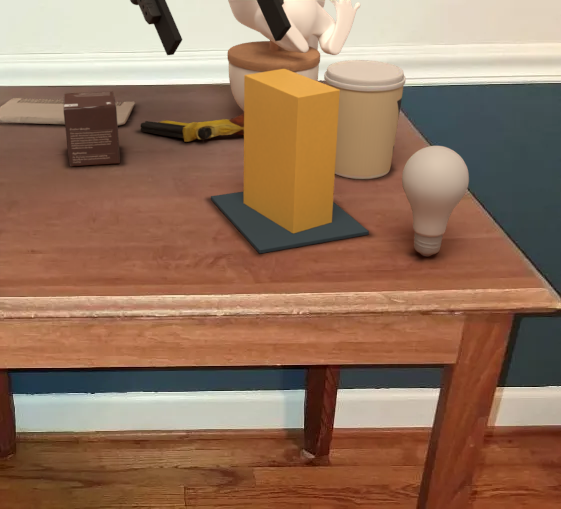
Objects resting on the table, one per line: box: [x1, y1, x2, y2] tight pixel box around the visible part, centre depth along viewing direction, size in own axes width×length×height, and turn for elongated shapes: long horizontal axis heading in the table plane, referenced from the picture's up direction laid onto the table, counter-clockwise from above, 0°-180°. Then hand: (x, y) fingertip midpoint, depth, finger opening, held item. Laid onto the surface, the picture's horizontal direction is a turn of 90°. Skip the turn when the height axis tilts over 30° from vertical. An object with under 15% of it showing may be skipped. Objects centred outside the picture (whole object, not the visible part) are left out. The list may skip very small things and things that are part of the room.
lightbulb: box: [401, 145, 470, 257], centre depth 79 cm, size 6×6×11 cm
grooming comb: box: [0, 97, 136, 126], centre depth 117 cm, size 18×10×1 cm, turn 88°
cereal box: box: [243, 69, 340, 234], centre depth 86 cm, size 5×9×14 cm, turn 36°
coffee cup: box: [323, 59, 407, 180], centre depth 100 cm, size 9×9×12 cm
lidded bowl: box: [227, 40, 321, 112], centre depth 116 cm, size 13×13×11 cm
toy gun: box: [140, 112, 244, 143], centre depth 111 cm, size 4×15×10 cm
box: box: [63, 91, 121, 167], centre depth 101 cm, size 6×6×7 cm
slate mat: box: [210, 190, 370, 254], centre depth 89 cm, size 12×14×1 cm
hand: (231, 40), depth 89 cm, fingers open, 13 cm apart
